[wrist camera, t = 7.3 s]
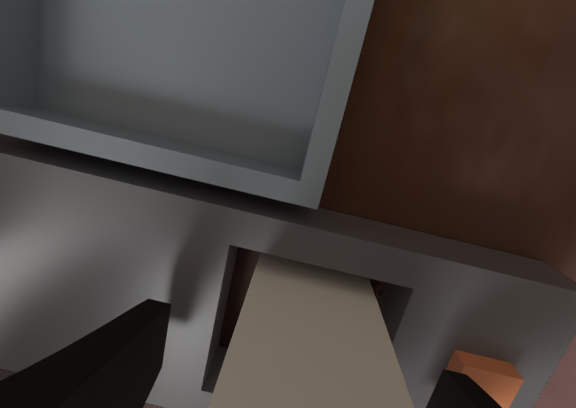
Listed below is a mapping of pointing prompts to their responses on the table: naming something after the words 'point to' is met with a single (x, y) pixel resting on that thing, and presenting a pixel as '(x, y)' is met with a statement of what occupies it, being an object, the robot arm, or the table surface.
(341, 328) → the plug
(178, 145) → the tray
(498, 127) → the table surface
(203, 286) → the power strip
